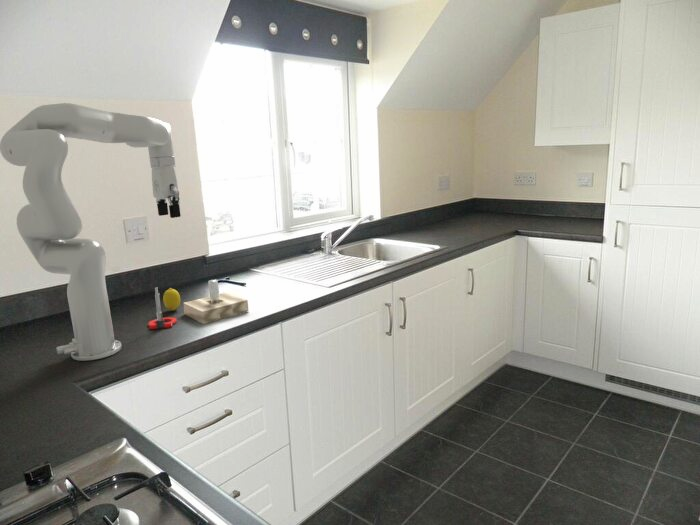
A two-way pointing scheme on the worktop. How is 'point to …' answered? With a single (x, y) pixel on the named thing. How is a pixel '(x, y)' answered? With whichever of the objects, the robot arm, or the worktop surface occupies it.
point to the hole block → (215, 308)
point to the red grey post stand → (160, 316)
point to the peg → (214, 291)
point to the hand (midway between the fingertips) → (169, 216)
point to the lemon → (171, 299)
